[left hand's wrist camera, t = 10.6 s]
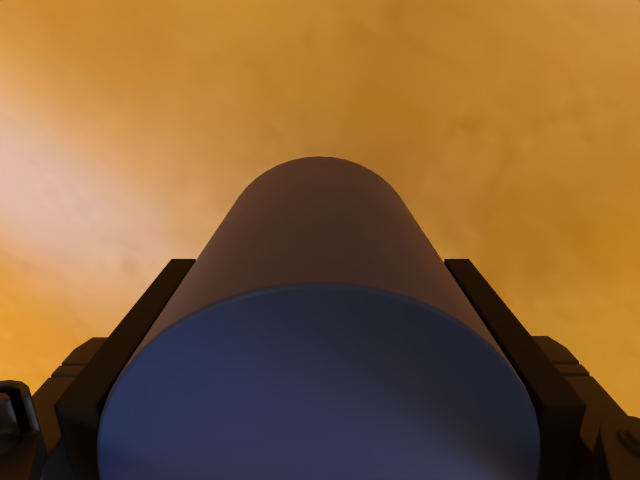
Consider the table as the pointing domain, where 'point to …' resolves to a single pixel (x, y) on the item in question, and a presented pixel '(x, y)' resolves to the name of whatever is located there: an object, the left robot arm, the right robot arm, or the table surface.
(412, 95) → the table surface
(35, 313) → the table surface
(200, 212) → the table surface
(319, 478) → the can
